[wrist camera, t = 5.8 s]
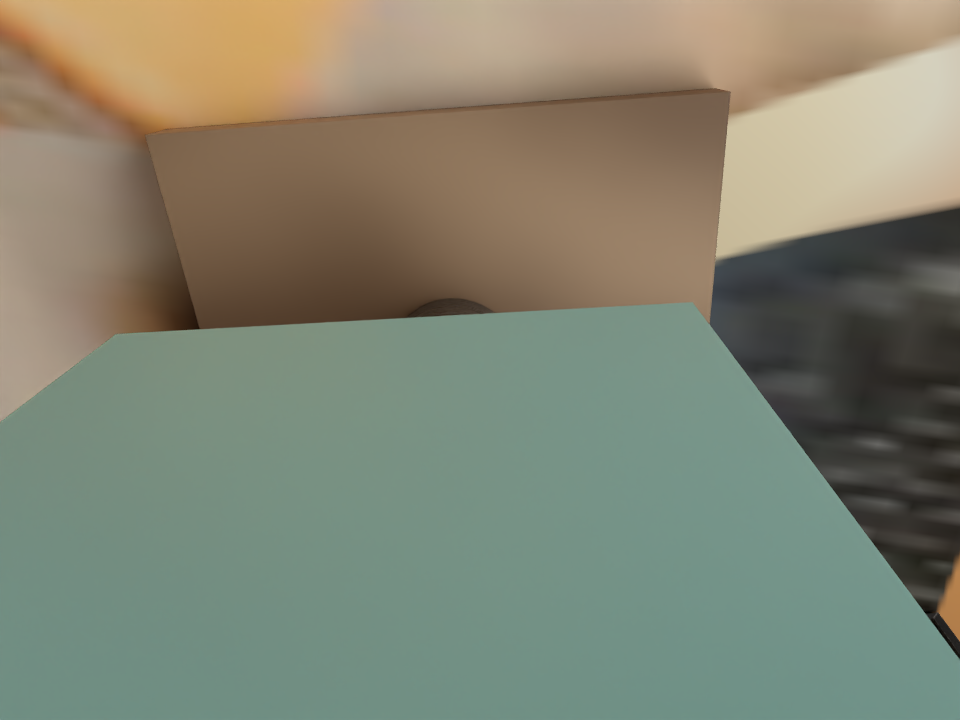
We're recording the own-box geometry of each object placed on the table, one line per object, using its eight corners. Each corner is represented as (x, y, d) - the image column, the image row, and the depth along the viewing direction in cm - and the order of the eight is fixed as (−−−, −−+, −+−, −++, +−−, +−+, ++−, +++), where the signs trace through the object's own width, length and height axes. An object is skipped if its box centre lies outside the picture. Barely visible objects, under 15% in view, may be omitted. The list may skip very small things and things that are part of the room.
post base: (681, 503, 19) (756, 691, 13) (271, 519, 19) (183, 705, 14) (715, 88, 14) (854, 118, 8) (166, 129, 14) (-31, 181, 9)
